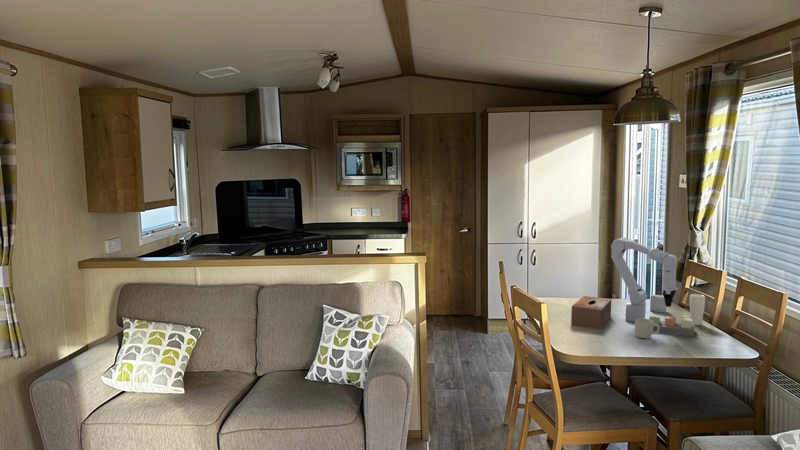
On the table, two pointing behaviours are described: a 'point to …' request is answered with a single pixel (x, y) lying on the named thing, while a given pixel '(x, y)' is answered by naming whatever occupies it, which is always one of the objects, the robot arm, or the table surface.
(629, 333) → the table surface
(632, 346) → the table surface
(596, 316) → the tissue box cover
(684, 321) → the white block
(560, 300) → the table surface
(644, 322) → the cup
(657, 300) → the medicine box
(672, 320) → the terracotta block
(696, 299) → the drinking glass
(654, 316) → the sage block
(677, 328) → the grey tray
